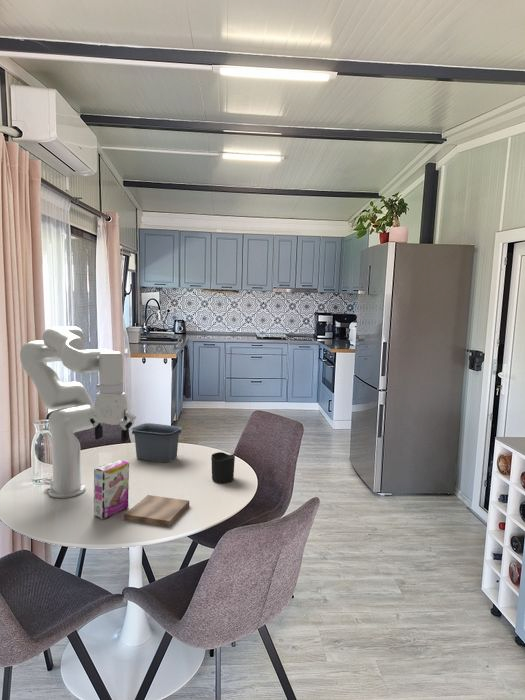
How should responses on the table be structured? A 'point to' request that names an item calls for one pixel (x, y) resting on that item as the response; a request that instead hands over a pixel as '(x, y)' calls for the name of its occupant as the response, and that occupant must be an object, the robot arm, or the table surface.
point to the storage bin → (156, 442)
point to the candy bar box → (111, 488)
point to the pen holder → (222, 467)
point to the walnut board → (157, 510)
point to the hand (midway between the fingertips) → (111, 439)
